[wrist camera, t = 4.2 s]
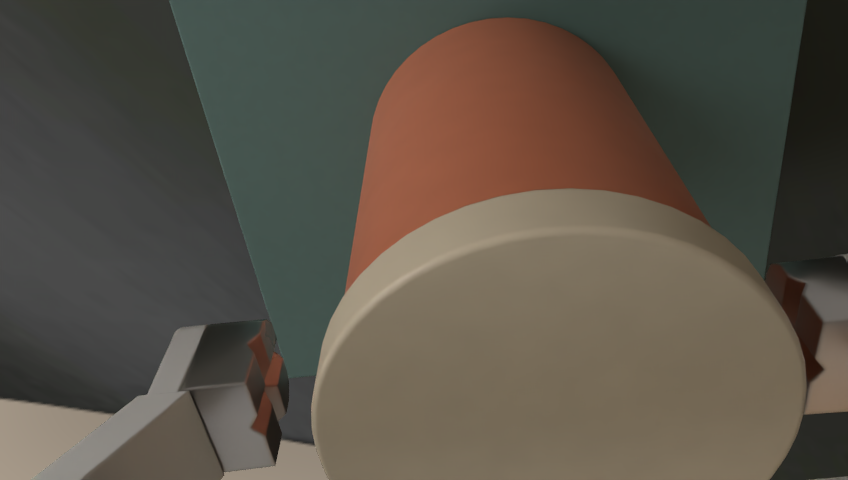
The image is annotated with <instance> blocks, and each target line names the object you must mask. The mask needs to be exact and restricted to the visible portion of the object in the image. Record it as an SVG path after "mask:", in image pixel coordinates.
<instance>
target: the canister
mask: <svg viewBox="0 0 848 480" xmlns="http://www.w3.org/2000/svg"><path fill="white" fill-rule="evenodd" d="M806 391H807V383H806V368H805V360H804V356H803V352H802V349H801V345H800V342H799V338H798V336H797V334H796V332H795V330H794V328H793V326H792V324H791V322H790V320H789V318H788V316H787V315H786V313H785V311H784V310H783V308H782V307H781V305H780V304H779V302H778V301H777V299H776V298H775V296H774V295H773V293H772V292H771V290H770V289H769V287H768V286H767V284H766V283H765V281H764V280H763V278H762V277H761V276H760V274H759V273H758V272H757V270H756V269H755V268H754V266H753V265H752V264H751V262H750V261H749V260H748V259H747V257H746V256H745V255H744V254H743V253H742V252H741V251H740V250H739V249H738V248H736V247H735V246H734V245H733V244H732V243H731V242H730V241H729V240H728V239H727V238H726V237H724V236H723V235H721V234H720V233H718V232H717V231H715V230H714V229H712V228H711V226H710V225H709V223H708V221H707V220H706V218H705V217H704V215H703V213H702V212H701V210H700V209H699V207H698V205H697V204H696V202H695V201H694V199H693V197H692V196H691V194H690V193H689V191H688V189H687V188H686V186H685V185H684V183H683V181H682V180H681V178H680V177H679V175H678V173H677V172H676V170H675V169H674V167H673V165H672V164H671V162H670V161H669V159H668V157H667V156H666V154H665V153H664V151H663V149H662V148H661V146H660V145H659V143H658V141H657V140H656V138H655V137H654V135H653V133H652V132H651V130H650V129H649V127H648V126H647V124H646V122H645V121H644V119H643V118H642V116H641V114H640V113H639V111H638V110H637V108H636V106H635V105H634V103H633V102H632V100H631V98H630V97H629V95H628V94H627V92H626V90H625V89H624V87H623V86H622V84H621V82H620V81H619V79H618V78H617V76H616V74H615V73H614V71H613V70H612V69H611V67H610V66H609V65H608V63H607V62H606V61H605V59H604V58H603V57H602V56H601V55H600V54H599V53H598V52H597V51H596V50H594V49H593V48H592V47H591V46H590V45H589V44H587V43H586V42H584V41H583V40H582V39H580V38H579V37H577V36H575V35H574V34H572V33H570V32H568V31H566V30H564V29H562V28H559V27H556V26H554V25H551V24H548V23H545V22H541V21H536V20H531V19H524V18H510V17H506V18H491V19H485V20H479V21H474V22H470V23H467V24H464V25H461V26H458V27H455V28H452V29H450V30H448V31H446V32H444V33H442V34H440V35H438V36H436V37H434V38H433V39H431V40H430V41H428V42H427V43H425V44H424V45H422V46H421V47H419V48H418V49H417V50H416V51H415V52H414V53H413V54H411V55H410V56H409V57H408V58H407V59H406V60H405V61H404V62H403V63H402V64H401V66H400V67H399V68H398V69H397V70H396V71H395V73H394V74H393V76H392V77H391V79H390V80H389V82H388V83H387V85H386V86H385V88H384V90H383V92H382V94H381V97H380V99H379V101H378V104H377V107H376V110H375V113H374V116H373V122H372V127H371V133H370V139H369V146H368V152H367V158H366V164H365V170H364V177H363V183H362V189H361V195H360V202H359V208H358V214H357V220H356V226H355V233H354V239H353V245H352V251H351V257H350V264H349V270H348V276H347V282H346V289H345V295H344V296H343V297H342V299H341V301H340V303H339V305H338V307H337V308H336V310H335V312H334V314H333V316H332V318H331V320H330V322H329V325H328V328H327V331H326V334H325V337H324V340H323V343H322V348H321V353H320V359H319V364H318V370H317V375H316V380H315V386H314V392H313V399H312V405H311V418H312V433H313V437H314V442H315V447H316V451H317V454H318V456H319V458H320V461H321V464H322V466H323V468H324V471H325V473H326V475H327V477H328V479H329V480H769V479H770V478H771V477H772V476H773V475H774V473H775V472H776V470H777V469H778V467H779V466H780V465H781V463H782V462H783V460H784V459H785V457H786V456H787V454H788V452H789V450H790V448H791V446H792V444H793V442H794V440H795V438H796V436H797V433H798V430H799V427H800V423H801V420H802V417H803V414H804V408H805V400H806Z"/></svg>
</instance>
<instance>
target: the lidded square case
mask: <svg viewBox="0 0 848 480" xmlns="http://www.w3.org/2000/svg"><path fill="white" fill-rule="evenodd" d="M169 2H170V5H171V8H172V11H173V14H174V18H175V21H176V24H177V27H178V30H179V33H180V36H181V40H182V43H183V46H184V49H185V52H186V55H187V59H188V62H189V65H190V68H191V71H192V74H193V77H194V81H195V84H196V87H197V90H198V93H199V96H200V99H201V103H202V106H203V109H204V112H205V115H206V118H207V122H208V125H209V128H210V131H211V134H212V137H213V140H214V144H215V147H216V150H217V153H218V156H219V159H220V163H221V166H222V169H223V172H224V175H225V178H226V181H227V185H228V188H229V191H230V194H231V197H232V200H233V204H234V207H235V210H236V213H237V216H238V219H239V222H240V226H241V229H242V232H243V235H244V238H245V241H246V245H247V248H248V251H249V254H250V257H251V260H252V263H253V267H254V270H255V273H256V276H257V279H258V282H259V286H260V289H261V292H262V295H263V298H264V301H265V304H266V308H267V311H268V314H269V317H270V320H271V323H272V326H273V329H274V331H275V334H276V337H277V342H278V345H279V349H280V352H281V355H282V358H283V359H284V362H285V366H286V369H287V374H288V377H289V378H296V377H307V376H316V375H317V370H318V364H319V359H320V353H321V348H322V343H323V340H324V337H325V334H326V331H327V328H328V325H329V322H330V320H331V318H332V316H333V314H334V312H335V310H336V308H337V307H338V305H339V303H340V301H341V299H342V297H343V296H344V295H345V289H346V282H347V276H348V270H349V264H350V257H351V251H352V245H353V239H354V233H355V226H356V220H357V214H358V208H359V202H360V195H361V189H362V183H363V177H364V170H365V164H366V158H367V152H368V146H369V139H370V133H371V127H372V122H373V116H374V113H375V110H376V107H377V104H378V101H379V99H380V97H381V94H382V92H383V90H384V88H385V86H386V85H387V83H388V82H389V80H390V79H391V77H392V76H393V74H394V73H395V71H396V70H397V69H398V68H399V67H400V66H401V64H402V63H403V62H404V61H405V60H406V59H407V58H408V57H409V56H410V55H411V54H413V53H414V52H415V51H416V50H417V49H418V48H419V47H421V46H422V45H424V44H425V43H427V42H428V41H430V40H431V39H433V38H434V37H436V36H438V35H440V34H442V33H444V32H446V31H448V30H450V29H452V28H455V27H458V26H461V25H464V24H467V23H470V22H474V21H479V20H485V19H491V18H506V17H510V18H524V19H531V20H536V21H541V22H545V23H548V24H551V25H554V26H556V27H559V28H562V29H564V30H566V31H568V32H570V33H572V34H574V35H575V36H577V37H579V38H580V39H582V40H583V41H584V42H586V43H587V44H589V45H590V46H591V47H592V48H593V49H594V50H596V51H597V52H598V53H599V54H600V55H601V56H602V57H603V58H604V59H605V61H606V62H607V63H608V65H609V66H610V67H611V69H612V70H613V71H614V73H615V74H616V76H617V78H618V79H619V81H620V82H621V84H622V86H623V87H624V89H625V90H626V92H627V94H628V95H629V97H630V98H631V100H632V102H633V103H634V105H635V106H636V108H637V110H638V111H639V113H640V114H641V116H642V118H643V119H644V121H645V122H646V124H647V126H648V127H649V129H650V130H651V132H652V133H653V135H654V137H655V138H656V140H657V141H658V143H659V145H660V146H661V148H662V149H663V151H664V153H665V154H666V156H667V157H668V159H669V161H670V162H671V164H672V165H673V167H674V169H675V170H676V172H677V173H678V175H679V177H680V178H681V180H682V181H683V183H684V185H685V186H686V188H687V189H688V191H689V193H690V194H691V196H692V197H693V199H694V201H695V202H696V204H697V205H698V207H699V209H700V210H701V212H702V213H703V215H704V217H705V218H706V220H707V221H708V223H709V225H710V226H711V228H712V229H714V230H715V231H717V232H718V233H720V234H721V235H723V236H724V237H726V238H727V239H728V240H729V241H730V242H731V243H732V244H733V245H734V246H735V247H736V248H738V249H739V250H740V251H741V252H742V253H743V254H744V255H745V256H746V257H747V259H748V260H749V261H750V262H751V264H752V265H753V266H754V268H755V269H756V270H757V272H758V273H759V274H760V276H761V277H762V278H763V280H764V277H765V270H766V264H767V257H768V251H769V244H770V238H771V231H772V225H773V218H774V212H775V205H776V199H777V192H778V186H779V180H780V173H781V167H782V160H783V154H784V147H785V141H786V134H787V128H788V121H789V115H790V108H791V102H792V95H793V89H794V82H795V76H796V70H797V63H798V57H799V50H800V44H801V37H802V31H803V24H804V18H805V11H806V5H807V0H169Z"/></svg>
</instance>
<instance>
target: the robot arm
mask: <svg viewBox="0 0 848 480" xmlns="http://www.w3.org/2000/svg"><path fill="white" fill-rule="evenodd" d="M765 283H766V284H767V286H768V287H769V289H770V290H771V292H772V293H773V295H774V296H775V298H776V299H777V301H778V302H779V304H780V305H781V307H782V308H783V310H784V311H785V313H786V315H787V316H788V318H789V320H790V322H791V324H792V326H793V328H794V330H795V332H796V334H797V336H798V338H799V342H800V345H801V349H802V352H803V356H804V360H805V368H806V383H807V391H806V400H805V408H804V414H818V413H832V412H846V411H848V254H842V255H836V256H835V257H826V258H817V259H809V260H800V261H791V262H783V263H774V264H771V265H770V267H769V269H768V271H767V274H766V280H765ZM276 340H277V337H276V334H275V331H274V329H273V326H272V323H271V322H270V321H268V320H267V319H264V320H253V321H241V322H230V323H219V324H210V325H200V326H190V327H181V328H180V329H178V330H177V331H176V332H175V333H174V336H173V338H172V340H171V342H170V345H169V347H168V349H167V351H166V353H165V356H164V358H163V360H162V362H161V365H160V367H159V369H158V371H157V374H156V376H155V378H154V380H153V383H152V385H151V387H150V389H149V391H148V394H147V395H142V396H138V397H136V398H135V399H134V400H132V401H131V402H130V403H129V404H127V405H126V406H125V407H123V408H122V409H121V410H120V411H118V412H117V413H116V414H114V415H113V416H112V417H111V418H109V419H108V420H107V421H106V422H104V423H103V424H102V425H100V426H99V427H98V428H97V429H95V430H94V431H93V432H91V433H90V434H89V435H88V436H86V437H85V438H84V439H83V440H81V441H80V442H79V443H77V444H76V445H75V446H73V447H72V448H71V449H70V450H68V451H67V452H66V453H65V454H63V455H62V456H61V457H59V458H58V459H57V460H56V461H54V462H53V463H52V464H50V465H49V466H48V467H47V468H45V469H44V470H43V471H42V472H40V473H39V474H38V475H36V476H35V477H34V478H32V480H221V479H222V477H223V476H224V473H223V472H230V471H238V470H246V469H253V468H262V467H270V466H275V464H276V459H277V455H278V450H279V445H280V441H281V436H282V432H281V429H280V426H279V423H278V421H279V420H280V419H281V418H282V417H283V416H284V415H285V414H286V412H287V407H288V402H289V380H288V374H287V369H286V366H285V362H284V359H283V358H282V357H281V356H280V355H278V354H277V353H276V352H274V348H275V344H276ZM813 480H848V476H847V477H835V478H824V479H813Z"/></svg>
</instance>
